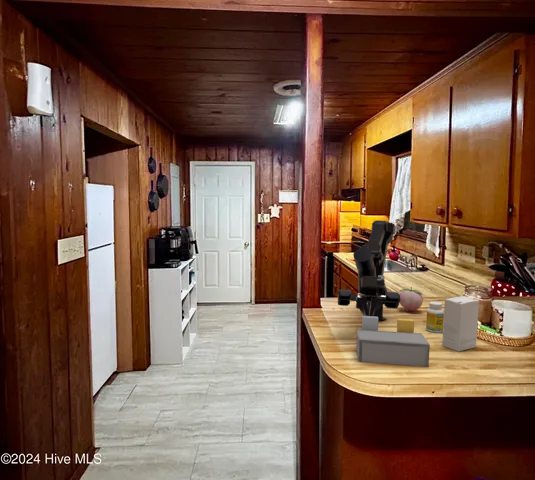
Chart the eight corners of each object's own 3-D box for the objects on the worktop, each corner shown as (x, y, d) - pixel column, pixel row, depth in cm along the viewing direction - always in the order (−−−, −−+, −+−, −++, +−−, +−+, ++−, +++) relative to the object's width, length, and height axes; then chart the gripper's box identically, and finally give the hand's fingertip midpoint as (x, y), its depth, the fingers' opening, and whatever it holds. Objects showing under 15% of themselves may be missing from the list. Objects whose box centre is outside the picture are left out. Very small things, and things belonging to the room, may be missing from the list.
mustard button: (396, 344, 114) (397, 318, 114) (411, 345, 114) (413, 319, 113) (402, 357, 105) (403, 328, 104) (419, 358, 104) (420, 329, 104)
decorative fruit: (424, 310, 156) (425, 286, 155) (420, 315, 149) (421, 290, 148) (400, 307, 161) (401, 283, 160) (395, 311, 154) (396, 287, 153)
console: (356, 349, 113) (357, 329, 113) (420, 353, 110) (421, 333, 110) (358, 361, 104) (359, 340, 104) (428, 366, 102) (429, 344, 101)
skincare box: (459, 341, 121) (462, 295, 119) (477, 348, 115) (480, 299, 114) (440, 345, 117) (443, 297, 116) (458, 352, 112) (461, 302, 110)
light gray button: (361, 341, 117) (362, 315, 116) (376, 342, 116) (377, 316, 115) (364, 353, 107) (365, 325, 107) (380, 354, 107) (382, 326, 106)
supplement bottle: (431, 327, 135) (433, 300, 134) (446, 331, 131) (447, 303, 130) (422, 329, 132) (424, 302, 131) (436, 334, 128) (438, 305, 127)
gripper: (339, 264, 121) (338, 307, 112) (400, 266, 119) (406, 311, 109) (337, 284, 130) (337, 325, 120) (395, 286, 127) (399, 329, 117)
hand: (369, 323), depth 116 cm, fingers closed, pressing on light gray button
